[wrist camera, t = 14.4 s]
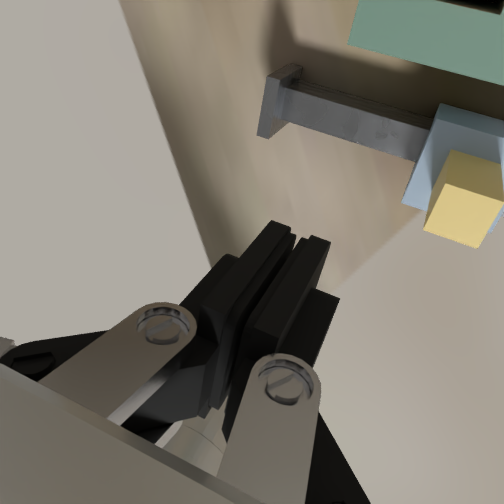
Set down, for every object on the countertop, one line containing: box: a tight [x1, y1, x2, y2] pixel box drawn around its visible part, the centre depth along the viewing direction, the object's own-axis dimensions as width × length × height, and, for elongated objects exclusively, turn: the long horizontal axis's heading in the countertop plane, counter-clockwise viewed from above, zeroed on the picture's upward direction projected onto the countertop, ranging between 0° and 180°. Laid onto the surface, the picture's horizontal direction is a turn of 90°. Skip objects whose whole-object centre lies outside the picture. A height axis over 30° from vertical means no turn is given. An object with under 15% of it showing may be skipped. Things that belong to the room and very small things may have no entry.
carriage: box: [401, 103, 504, 249], centre depth 28 cm, size 6×6×11 cm
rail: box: [257, 64, 504, 217], centre depth 32 cm, size 4×19×5 cm, turn 80°
